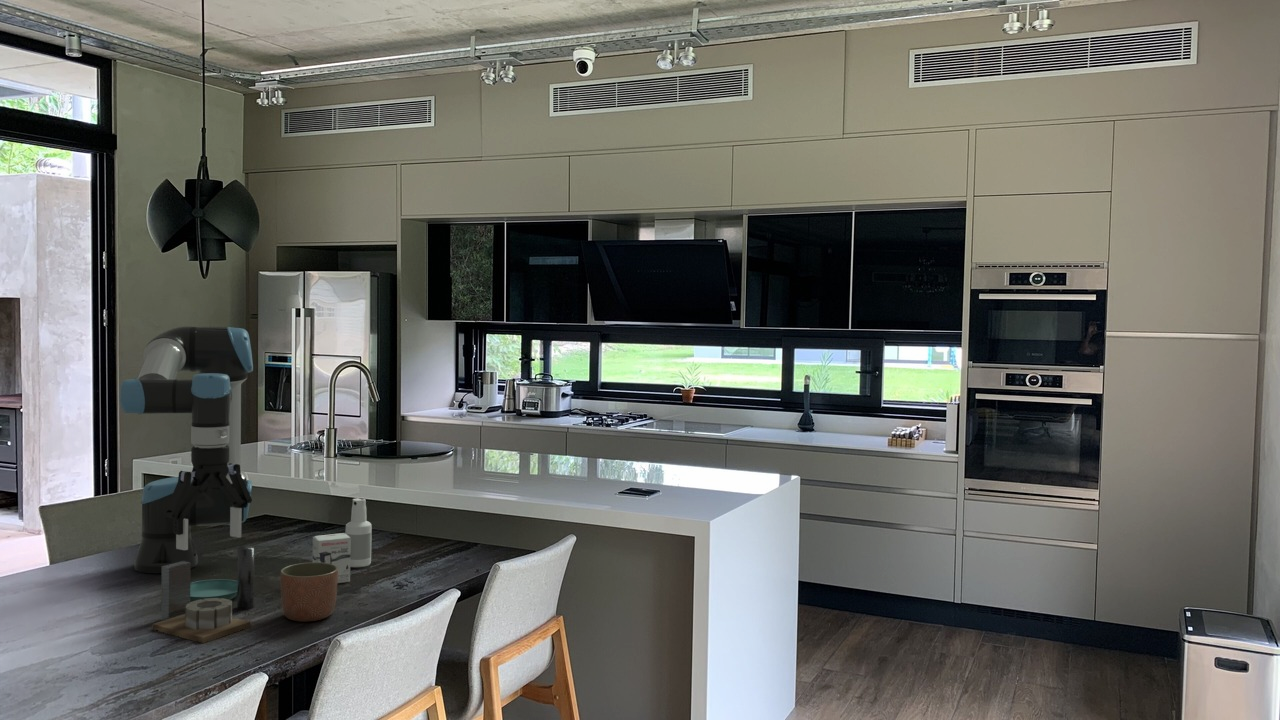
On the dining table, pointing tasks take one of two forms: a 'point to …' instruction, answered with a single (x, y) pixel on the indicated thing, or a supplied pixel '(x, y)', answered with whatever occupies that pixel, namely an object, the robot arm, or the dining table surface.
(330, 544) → the ink box
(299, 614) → the planter
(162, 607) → the grey rectangular block
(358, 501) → the spray bottle
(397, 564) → the dining table surface
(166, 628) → the socket board
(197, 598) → the saucer
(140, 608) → the dining table surface
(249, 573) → the cylinder
